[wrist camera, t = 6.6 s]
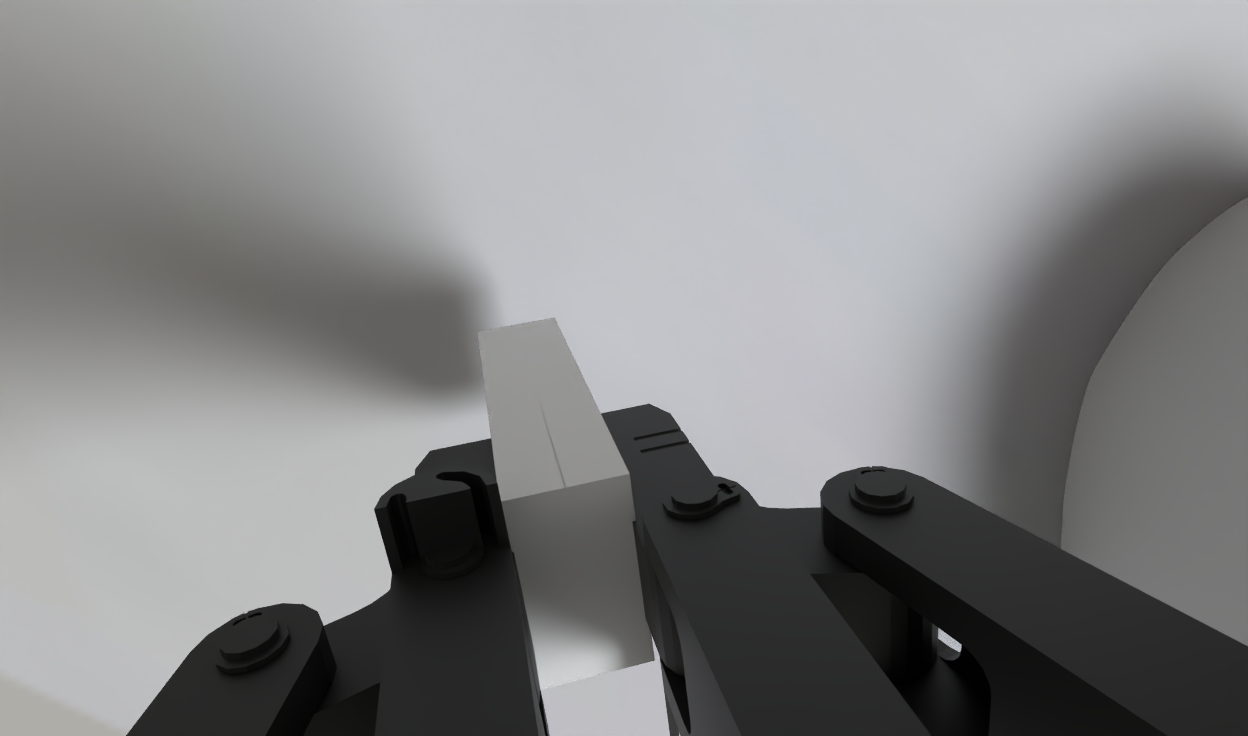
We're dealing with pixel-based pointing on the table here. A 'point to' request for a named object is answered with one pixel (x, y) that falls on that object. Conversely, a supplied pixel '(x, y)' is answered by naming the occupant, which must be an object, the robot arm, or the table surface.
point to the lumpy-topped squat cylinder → (1173, 437)
